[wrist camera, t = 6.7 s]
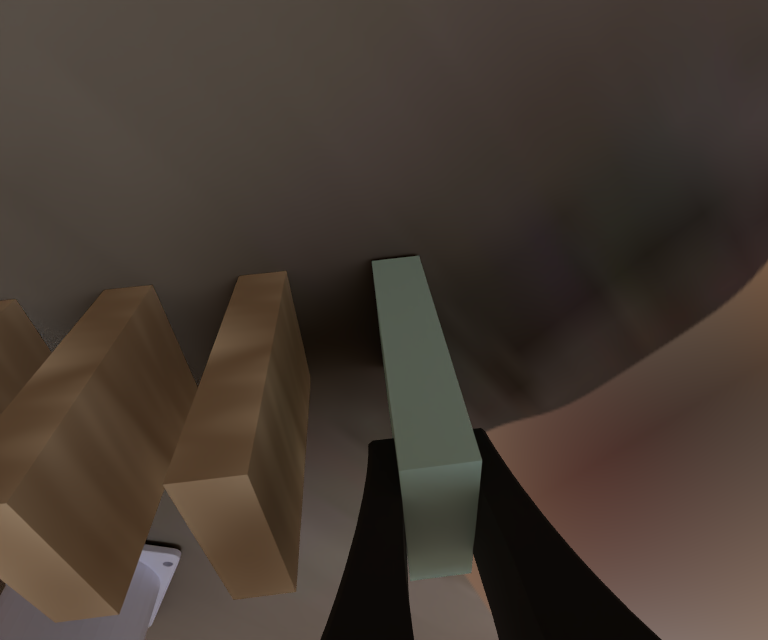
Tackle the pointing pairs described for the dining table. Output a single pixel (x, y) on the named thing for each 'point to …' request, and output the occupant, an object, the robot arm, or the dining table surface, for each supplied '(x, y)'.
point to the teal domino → (427, 424)
